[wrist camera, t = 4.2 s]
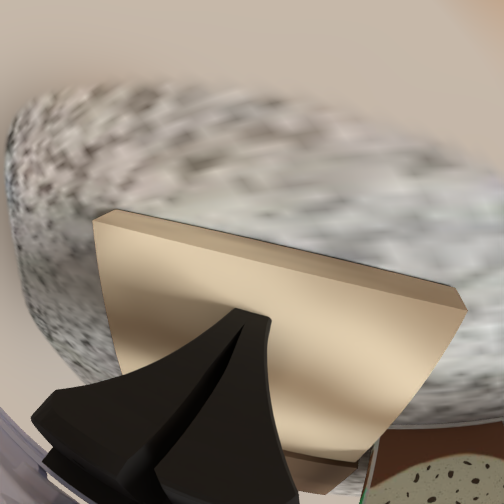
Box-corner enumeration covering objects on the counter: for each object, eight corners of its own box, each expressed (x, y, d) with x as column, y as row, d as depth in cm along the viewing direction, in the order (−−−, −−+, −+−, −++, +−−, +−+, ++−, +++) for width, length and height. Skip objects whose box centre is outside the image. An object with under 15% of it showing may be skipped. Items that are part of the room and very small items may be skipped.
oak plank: (357, 441, 13) (355, 462, 12) (140, 376, 16) (127, 392, 15) (455, 288, 9) (467, 310, 7) (115, 209, 12) (92, 220, 10)
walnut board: (360, 445, 14) (357, 468, 12) (328, 477, 17) (325, 495, 15) (137, 378, 17) (123, 395, 16) (150, 422, 20) (140, 436, 18)
